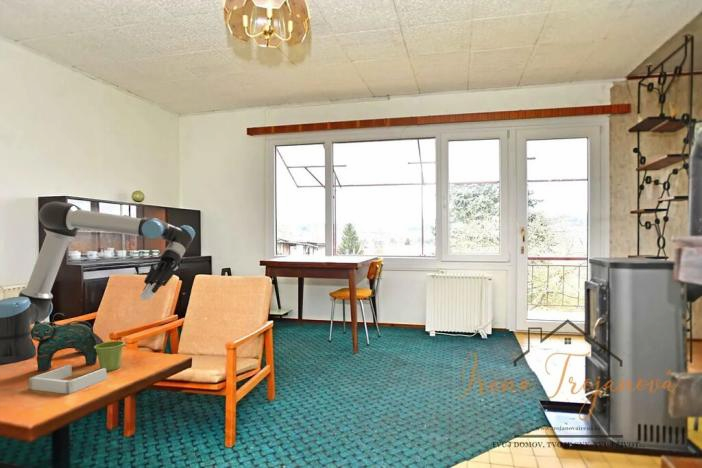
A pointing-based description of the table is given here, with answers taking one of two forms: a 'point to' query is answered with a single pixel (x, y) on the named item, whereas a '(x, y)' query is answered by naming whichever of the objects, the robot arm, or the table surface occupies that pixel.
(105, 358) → the plant pot
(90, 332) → the ceramic cat
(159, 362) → the table surface
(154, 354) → the table surface
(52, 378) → the white u-shaped frame
